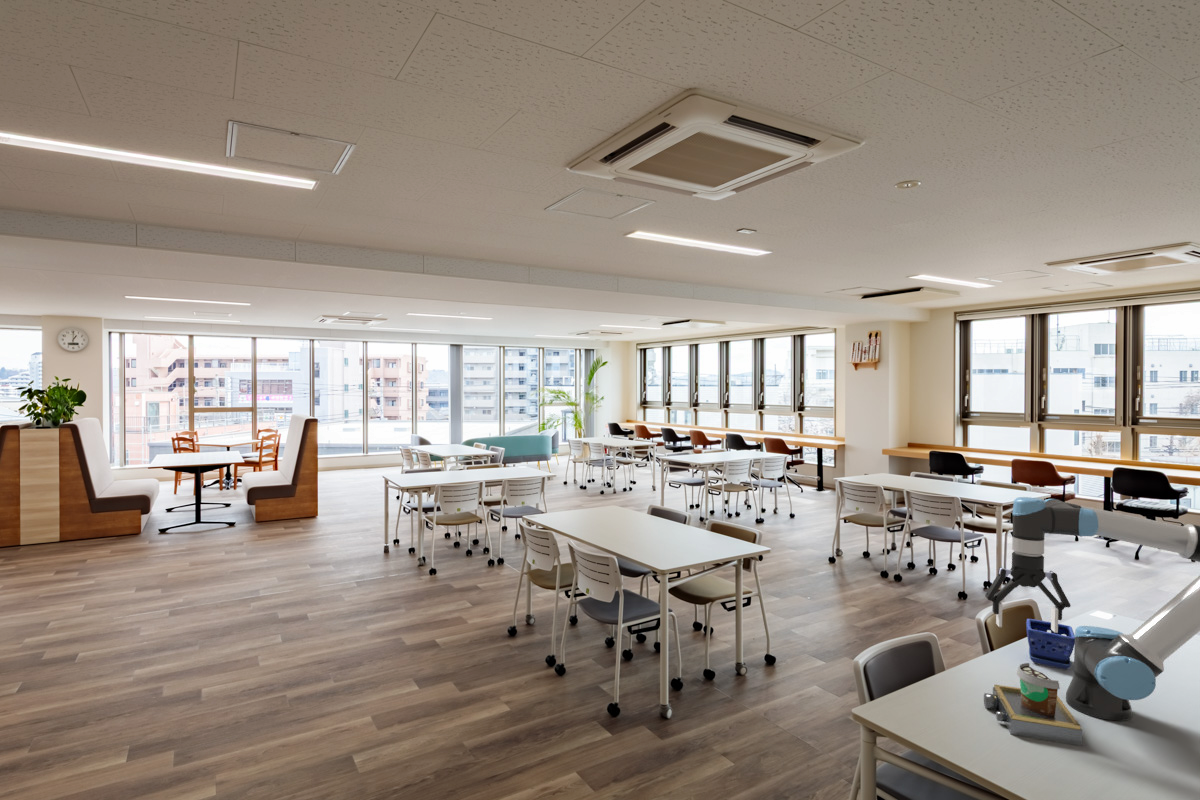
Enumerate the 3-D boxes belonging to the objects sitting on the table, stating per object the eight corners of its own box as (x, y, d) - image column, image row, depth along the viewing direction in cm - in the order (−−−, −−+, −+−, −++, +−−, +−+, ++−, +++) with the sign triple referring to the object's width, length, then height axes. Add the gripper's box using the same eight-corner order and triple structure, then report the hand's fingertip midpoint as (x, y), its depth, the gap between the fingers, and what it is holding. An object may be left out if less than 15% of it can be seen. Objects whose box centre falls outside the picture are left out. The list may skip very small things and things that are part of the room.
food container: (1006, 696, 186) (1006, 662, 186) (1026, 696, 186) (1027, 662, 186) (1036, 718, 173) (1037, 681, 173) (1059, 718, 174) (1059, 681, 173)
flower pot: (1071, 659, 222) (1072, 625, 222) (1074, 673, 211) (1075, 637, 211) (1025, 651, 230) (1026, 617, 229) (1026, 664, 218) (1027, 628, 218)
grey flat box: (1056, 710, 187) (1056, 692, 186) (1081, 746, 168) (1082, 726, 168) (980, 698, 193) (981, 682, 193) (997, 732, 174) (998, 713, 174)
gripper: (1074, 553, 182) (1072, 628, 183) (974, 546, 189) (973, 618, 190) (1085, 560, 175) (1083, 638, 175) (981, 552, 182) (980, 627, 183)
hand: (1026, 628), depth 183 cm, fingers open, 13 cm apart
